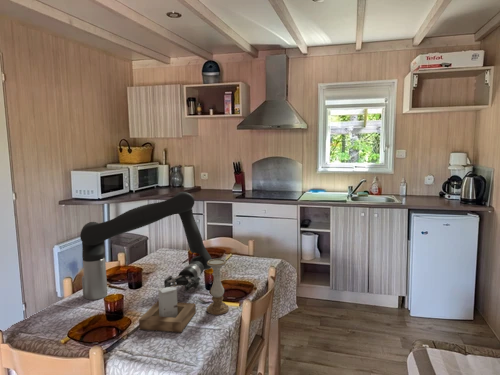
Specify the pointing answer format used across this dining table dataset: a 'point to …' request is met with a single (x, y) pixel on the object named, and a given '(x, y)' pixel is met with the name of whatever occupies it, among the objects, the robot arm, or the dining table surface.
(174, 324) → the walnut holder
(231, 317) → the dining table surface
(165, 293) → the skincare box
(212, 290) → the candle holder
